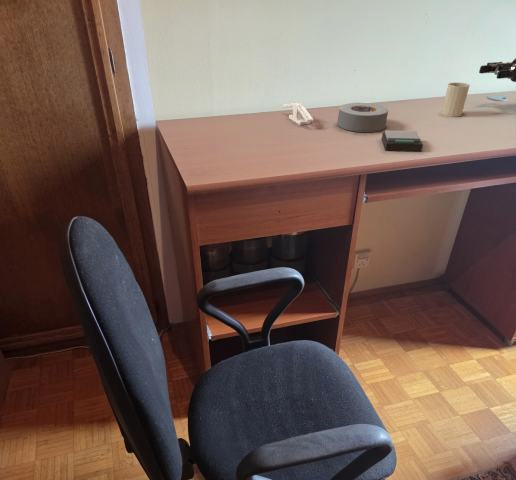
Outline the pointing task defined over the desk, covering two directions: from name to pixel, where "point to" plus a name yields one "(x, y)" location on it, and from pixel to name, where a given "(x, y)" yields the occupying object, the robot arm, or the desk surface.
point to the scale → (401, 141)
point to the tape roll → (362, 117)
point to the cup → (455, 99)
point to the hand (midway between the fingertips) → (489, 72)
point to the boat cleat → (299, 114)
